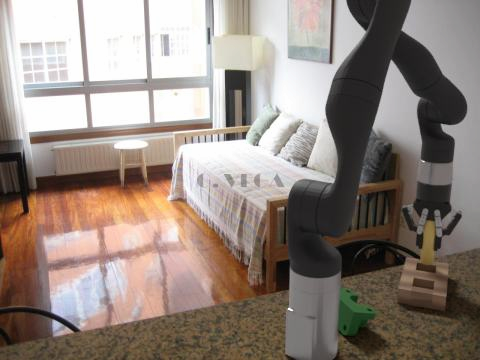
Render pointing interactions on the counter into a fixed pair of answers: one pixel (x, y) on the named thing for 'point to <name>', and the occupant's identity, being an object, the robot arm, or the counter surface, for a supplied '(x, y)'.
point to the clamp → (352, 313)
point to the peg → (428, 243)
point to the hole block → (423, 284)
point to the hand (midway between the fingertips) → (427, 248)
